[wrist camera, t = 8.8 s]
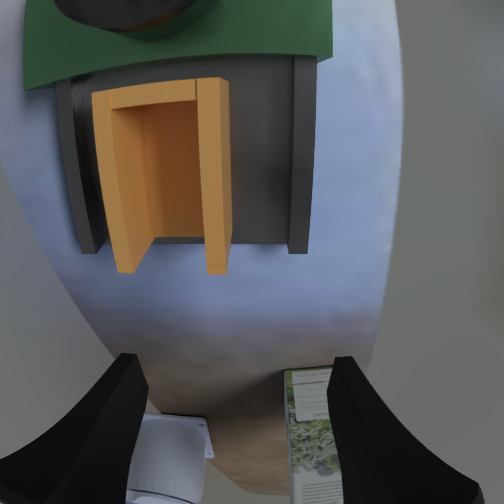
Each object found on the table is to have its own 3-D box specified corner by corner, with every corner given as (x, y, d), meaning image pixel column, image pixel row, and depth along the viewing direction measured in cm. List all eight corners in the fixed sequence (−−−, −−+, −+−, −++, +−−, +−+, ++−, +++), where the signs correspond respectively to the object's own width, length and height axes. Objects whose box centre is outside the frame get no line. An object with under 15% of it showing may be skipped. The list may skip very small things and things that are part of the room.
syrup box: (283, 406, 27) (291, 554, 14) (282, 366, 24) (295, 546, 11) (344, 400, 27) (370, 542, 14) (353, 359, 24) (394, 528, 11)
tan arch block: (232, 230, 18) (226, 274, 14) (146, 231, 18) (118, 273, 14) (229, 81, 14) (219, 77, 10) (132, 90, 14) (91, 92, 10)
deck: (310, 237, 19) (336, 313, 13) (76, 239, 19) (20, 301, 13) (315, -61, 10) (346, -125, 4) (58, -26, 10) (-13, -50, 4)
